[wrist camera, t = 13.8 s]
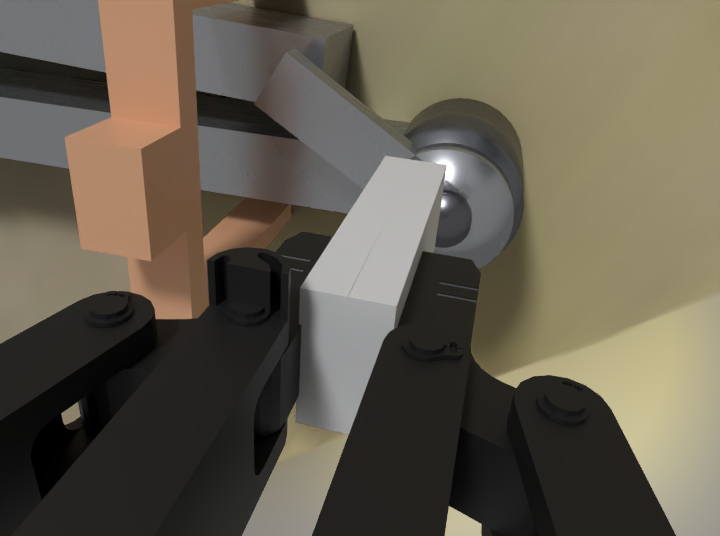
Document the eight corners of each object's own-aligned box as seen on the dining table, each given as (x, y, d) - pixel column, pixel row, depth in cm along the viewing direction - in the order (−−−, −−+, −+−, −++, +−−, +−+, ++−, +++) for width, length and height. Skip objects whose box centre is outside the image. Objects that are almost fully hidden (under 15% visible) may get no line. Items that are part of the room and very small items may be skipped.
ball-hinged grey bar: (534, 107, 24) (538, 143, 19) (508, 225, 26) (507, 281, 22) (-133, 22, 28) (-250, 35, 24) (-103, 129, 31) (-204, 159, 27)
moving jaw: (544, 54, 23) (553, 89, 17) (499, 221, 26) (494, 296, 21) (-105, -60, 26) (-270, -61, 21) (-73, 100, 30) (-207, 136, 24)
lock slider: (297, -36, 23) (125, -19, 13) (290, 218, 28) (161, 375, 18) (246, -41, 23) (39, -28, 13) (249, 211, 28) (98, 362, 18)
